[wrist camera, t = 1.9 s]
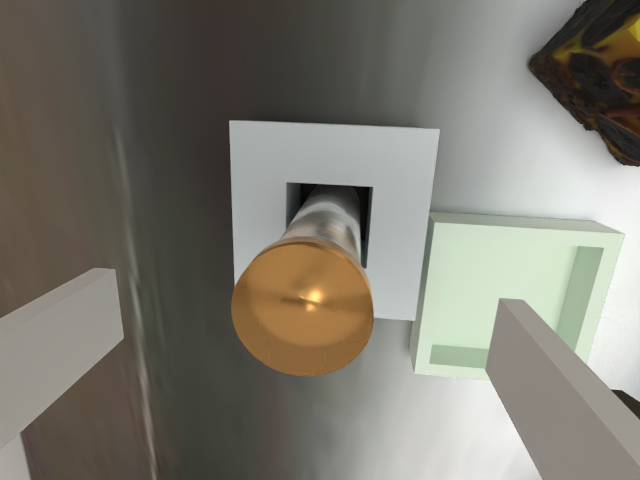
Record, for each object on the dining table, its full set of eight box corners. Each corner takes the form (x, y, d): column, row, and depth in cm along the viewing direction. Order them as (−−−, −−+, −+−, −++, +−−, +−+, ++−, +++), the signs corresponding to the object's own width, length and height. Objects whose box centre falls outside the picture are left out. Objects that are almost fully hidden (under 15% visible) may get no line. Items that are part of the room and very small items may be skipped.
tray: (426, 211, 28) (434, 222, 25) (594, 221, 27) (624, 233, 24) (408, 348, 32) (414, 373, 29) (556, 361, 31) (578, 389, 28)
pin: (303, 172, 28) (228, 242, 12) (367, 175, 28) (380, 252, 12) (302, 233, 30) (233, 369, 13) (362, 237, 29) (368, 382, 13)
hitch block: (255, 120, 28) (229, 120, 22) (422, 127, 27) (440, 129, 21) (257, 272, 31) (235, 306, 25) (404, 283, 30) (415, 320, 24)
